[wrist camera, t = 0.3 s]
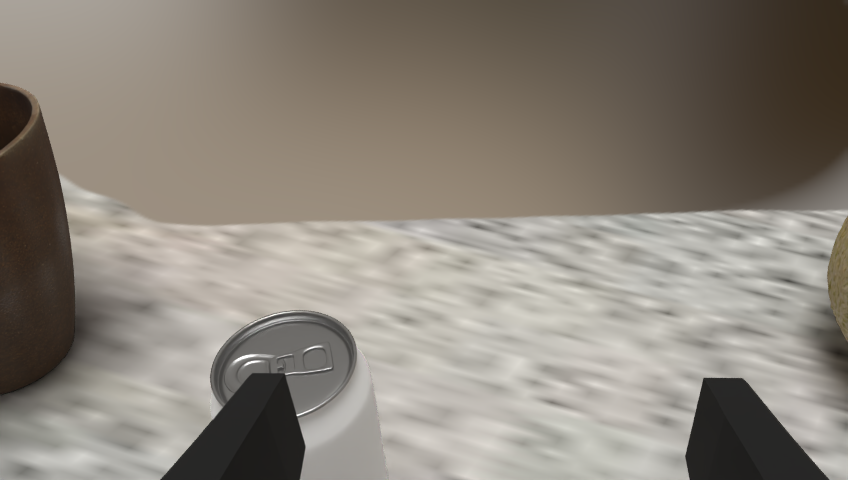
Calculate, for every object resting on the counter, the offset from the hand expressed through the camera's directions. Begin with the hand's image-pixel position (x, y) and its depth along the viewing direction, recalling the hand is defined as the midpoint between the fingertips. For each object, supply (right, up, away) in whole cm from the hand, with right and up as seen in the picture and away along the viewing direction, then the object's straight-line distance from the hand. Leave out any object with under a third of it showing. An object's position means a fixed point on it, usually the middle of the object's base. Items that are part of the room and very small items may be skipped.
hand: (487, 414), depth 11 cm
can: (-6, -11, +21) cm, 24 cm away
